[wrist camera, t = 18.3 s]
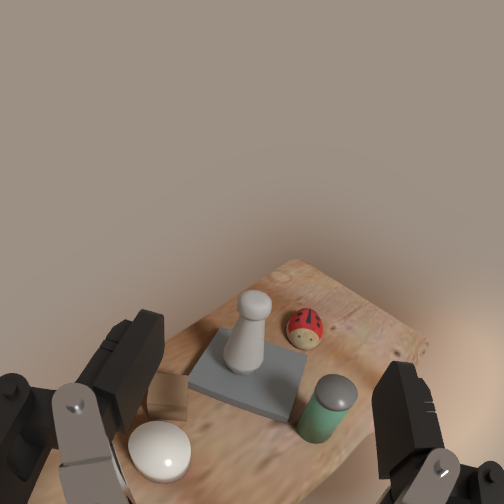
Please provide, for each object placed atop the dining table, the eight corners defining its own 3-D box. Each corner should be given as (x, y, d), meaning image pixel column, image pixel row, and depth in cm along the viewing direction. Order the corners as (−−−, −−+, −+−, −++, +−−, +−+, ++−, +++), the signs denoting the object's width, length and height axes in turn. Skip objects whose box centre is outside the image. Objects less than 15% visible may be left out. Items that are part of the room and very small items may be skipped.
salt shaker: (216, 373, 44) (226, 303, 37) (227, 347, 49) (239, 278, 42) (256, 384, 43) (274, 317, 37) (264, 357, 48) (282, 290, 42)
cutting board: (185, 386, 42) (185, 380, 41) (220, 332, 53) (220, 326, 53) (286, 423, 39) (288, 417, 38) (305, 361, 50) (307, 355, 50)
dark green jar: (292, 438, 37) (312, 401, 33) (300, 409, 41) (320, 369, 37) (328, 448, 36) (355, 412, 32) (334, 419, 40) (359, 380, 36)
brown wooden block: (149, 418, 36) (146, 402, 34) (152, 389, 41) (150, 372, 39) (187, 421, 37) (187, 406, 35) (187, 392, 41) (188, 375, 40)
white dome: (122, 466, 29) (116, 453, 27) (149, 427, 35) (147, 411, 33) (175, 493, 28) (173, 483, 26) (199, 450, 34) (200, 436, 32)
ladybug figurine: (283, 348, 53) (287, 333, 51) (287, 312, 61) (291, 298, 60) (321, 355, 52) (327, 341, 51) (321, 319, 61) (326, 305, 59)
